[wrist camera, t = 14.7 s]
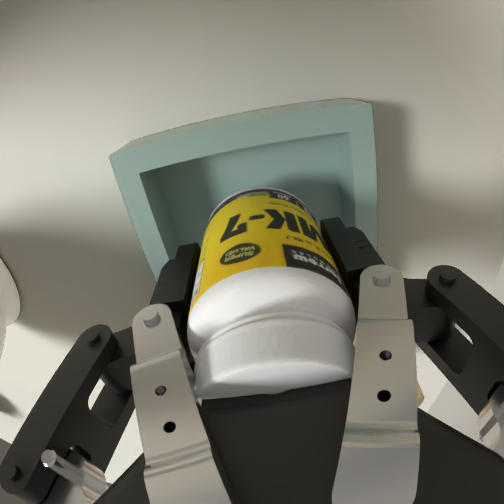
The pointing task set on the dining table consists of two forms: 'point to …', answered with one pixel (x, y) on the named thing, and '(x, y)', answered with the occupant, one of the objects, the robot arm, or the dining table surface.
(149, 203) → the tray
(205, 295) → the supplement bottle
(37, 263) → the dining table surface
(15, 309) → the jar
